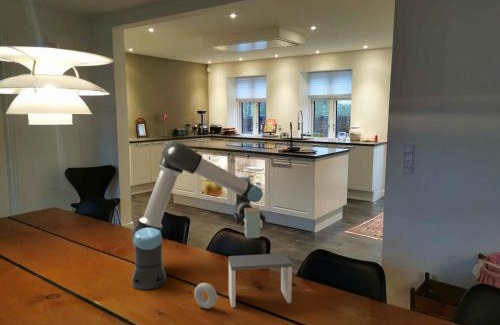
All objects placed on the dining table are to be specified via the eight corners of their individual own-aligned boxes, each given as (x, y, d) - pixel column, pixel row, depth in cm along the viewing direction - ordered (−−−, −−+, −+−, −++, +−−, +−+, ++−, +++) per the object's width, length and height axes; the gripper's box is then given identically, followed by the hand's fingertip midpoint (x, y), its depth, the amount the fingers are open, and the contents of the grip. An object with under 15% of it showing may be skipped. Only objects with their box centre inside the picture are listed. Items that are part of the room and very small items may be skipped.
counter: (231, 307, 140) (231, 267, 138) (228, 294, 151) (228, 256, 149) (291, 302, 144) (292, 263, 142) (284, 289, 155) (284, 253, 153)
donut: (218, 308, 139) (218, 284, 138) (214, 313, 136) (213, 288, 135) (197, 302, 144) (197, 278, 143) (192, 306, 141) (192, 282, 140)
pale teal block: (246, 238, 159) (246, 211, 157) (244, 233, 165) (244, 207, 164) (260, 237, 160) (260, 210, 159) (257, 233, 166) (257, 207, 165)
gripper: (264, 218, 181) (275, 232, 159) (227, 219, 178) (232, 234, 156) (264, 203, 180) (275, 215, 158) (227, 204, 177) (232, 217, 155)
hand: (254, 225), depth 157 cm, fingers closed on pale teal block, 6 cm apart
